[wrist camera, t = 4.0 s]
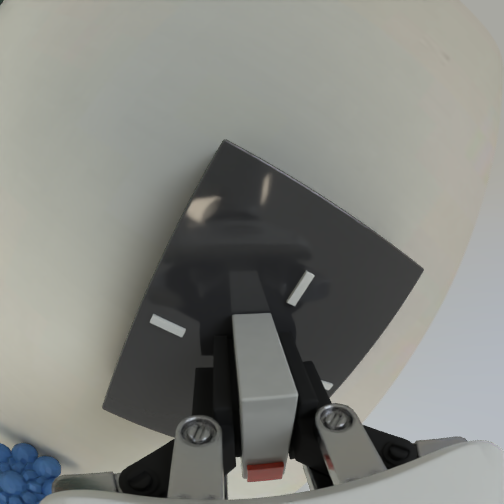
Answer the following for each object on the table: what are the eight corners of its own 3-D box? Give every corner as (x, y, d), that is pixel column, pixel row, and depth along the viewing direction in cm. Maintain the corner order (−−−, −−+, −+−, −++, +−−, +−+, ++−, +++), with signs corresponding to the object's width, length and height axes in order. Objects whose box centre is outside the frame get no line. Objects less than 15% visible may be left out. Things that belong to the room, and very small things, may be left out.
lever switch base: (223, 144, 12) (224, 137, 9) (392, 250, 14) (427, 270, 11) (115, 374, 15) (100, 411, 12) (259, 426, 17) (265, 462, 14)
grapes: (4, 444, 17) (-26, 511, 6) (-15, 410, 15) (-57, 484, 4) (87, 482, 19) (68, 565, 7) (74, 455, 17) (46, 554, 6)
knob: (231, 313, 11) (240, 406, 6) (271, 311, 11) (302, 401, 6) (234, 398, 12) (243, 484, 7) (267, 396, 12) (285, 480, 8)
